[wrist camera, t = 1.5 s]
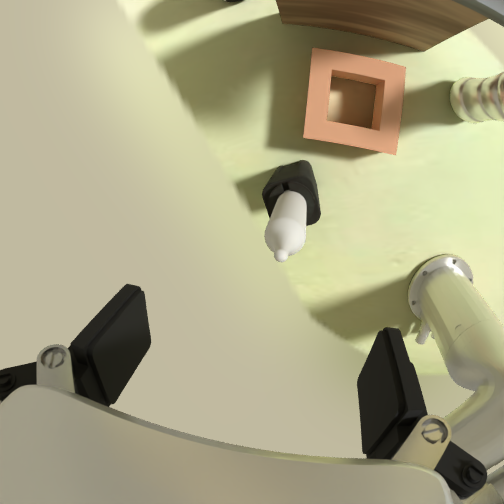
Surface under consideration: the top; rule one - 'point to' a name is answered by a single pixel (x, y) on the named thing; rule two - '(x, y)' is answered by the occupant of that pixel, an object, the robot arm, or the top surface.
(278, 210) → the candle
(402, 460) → the robot arm
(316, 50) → the socket block
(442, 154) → the top surface
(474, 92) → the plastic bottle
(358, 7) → the brown board grey top
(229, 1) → the beverage can
